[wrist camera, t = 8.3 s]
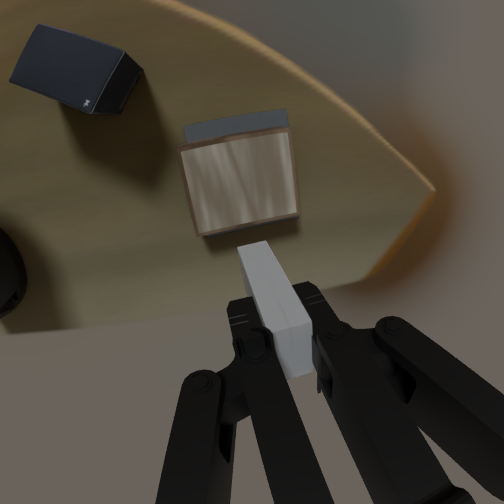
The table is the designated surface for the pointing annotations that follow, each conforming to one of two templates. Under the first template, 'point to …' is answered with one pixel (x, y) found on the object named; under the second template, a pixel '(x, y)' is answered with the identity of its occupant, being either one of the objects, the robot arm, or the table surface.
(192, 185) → the brown rectangular box
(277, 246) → the table surface
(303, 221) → the table surface
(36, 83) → the small box
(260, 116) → the mat
